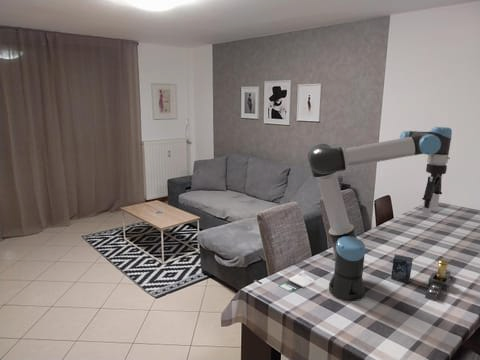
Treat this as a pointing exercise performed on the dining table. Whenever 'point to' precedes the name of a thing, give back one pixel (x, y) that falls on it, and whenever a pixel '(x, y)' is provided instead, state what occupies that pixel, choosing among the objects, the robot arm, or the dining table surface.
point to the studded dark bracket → (437, 286)
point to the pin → (441, 270)
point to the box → (401, 268)
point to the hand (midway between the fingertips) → (430, 211)
